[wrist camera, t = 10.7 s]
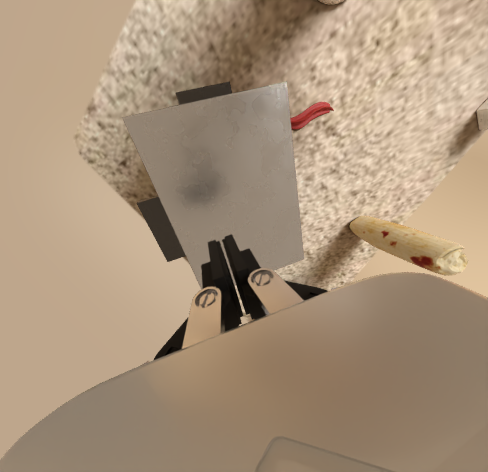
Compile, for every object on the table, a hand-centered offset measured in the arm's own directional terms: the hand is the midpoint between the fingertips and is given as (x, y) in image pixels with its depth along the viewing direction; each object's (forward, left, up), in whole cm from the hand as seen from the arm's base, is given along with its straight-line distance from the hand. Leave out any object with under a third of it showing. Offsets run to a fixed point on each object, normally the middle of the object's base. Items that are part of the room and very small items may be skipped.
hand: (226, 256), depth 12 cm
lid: (0, +2, -12) cm, 12 cm away
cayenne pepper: (-8, +23, -25) cm, 35 cm away
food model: (+19, +37, -25) cm, 48 cm away
